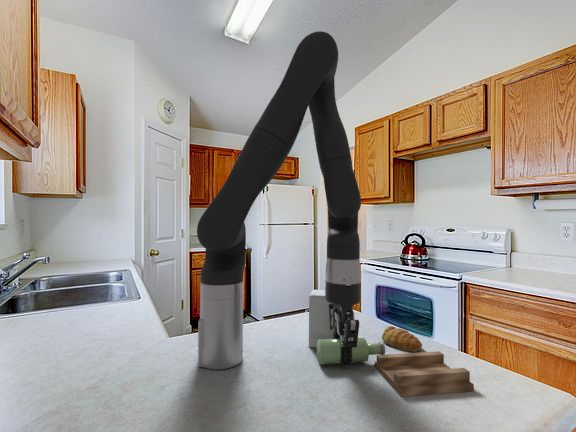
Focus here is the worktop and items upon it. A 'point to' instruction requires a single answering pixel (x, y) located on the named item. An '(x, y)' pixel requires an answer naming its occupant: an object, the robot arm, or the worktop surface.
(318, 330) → the supplement box
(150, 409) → the worktop surface
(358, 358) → the bottle
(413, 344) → the pastry
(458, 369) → the cradle
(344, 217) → the robot arm
